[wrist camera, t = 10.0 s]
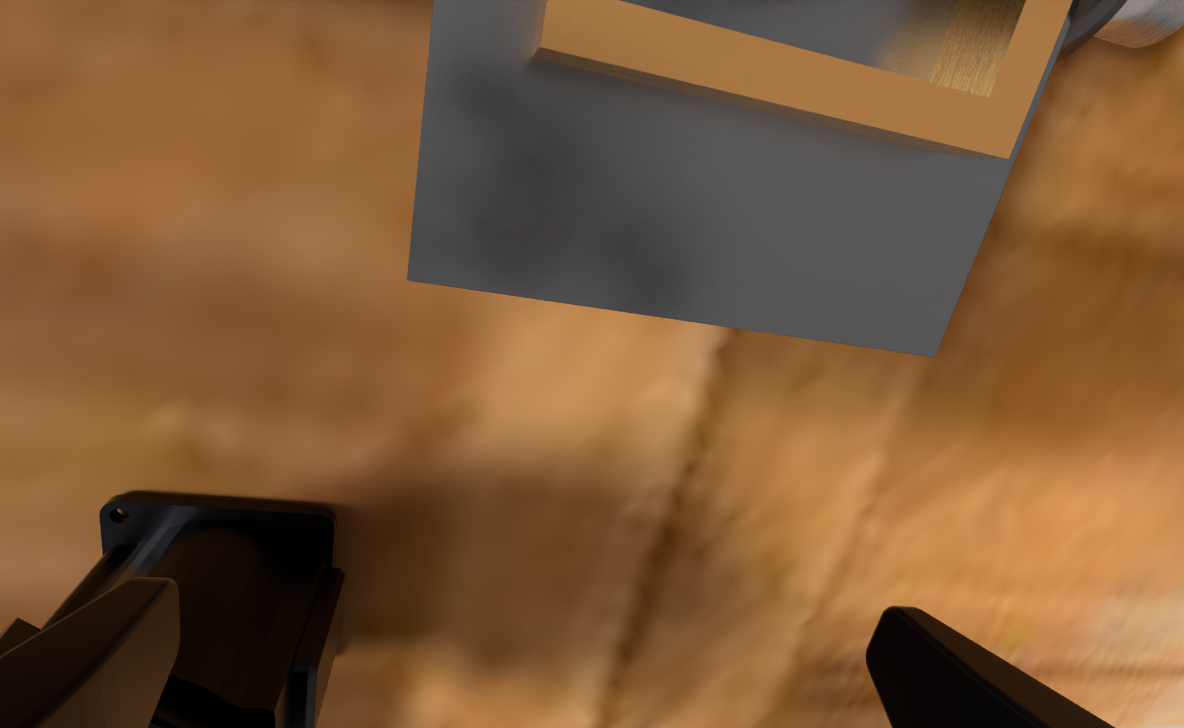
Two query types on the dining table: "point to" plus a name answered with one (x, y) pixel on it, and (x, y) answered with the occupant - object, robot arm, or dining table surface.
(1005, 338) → the dining table surface
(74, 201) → the dining table surface
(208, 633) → the robot arm
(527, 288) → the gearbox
